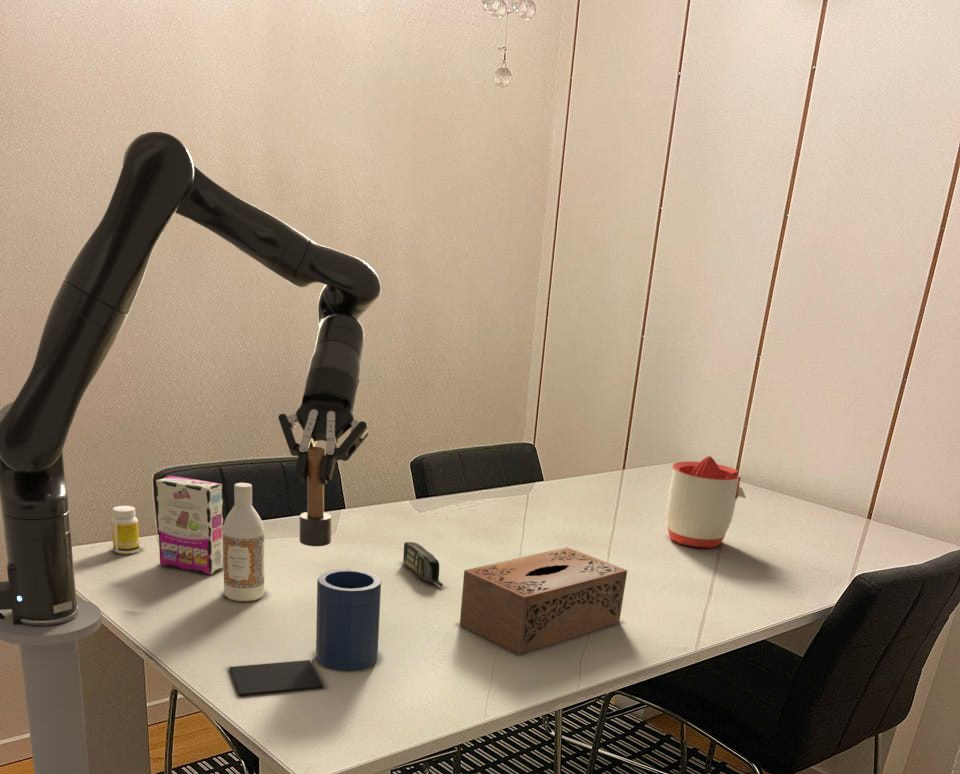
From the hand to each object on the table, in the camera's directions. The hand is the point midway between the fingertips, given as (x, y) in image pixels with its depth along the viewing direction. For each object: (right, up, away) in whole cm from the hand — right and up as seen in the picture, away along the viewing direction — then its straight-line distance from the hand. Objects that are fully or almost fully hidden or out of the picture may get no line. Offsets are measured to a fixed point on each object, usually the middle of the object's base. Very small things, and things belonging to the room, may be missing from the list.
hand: (312, 480), depth 139 cm
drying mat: (-6, -29, +4) cm, 30 cm away
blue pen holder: (+3, -26, +13) cm, 29 cm away
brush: (-1, -8, +6) cm, 10 cm away
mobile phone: (+13, -10, +50) cm, 53 cm away
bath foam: (-18, -15, +33) cm, 40 cm away
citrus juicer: (+75, 0, +87) cm, 115 cm away
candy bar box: (-30, -9, +44) cm, 54 cm away
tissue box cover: (+35, -20, +32) cm, 52 cm away
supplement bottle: (-44, -6, +49) cm, 66 cm away
